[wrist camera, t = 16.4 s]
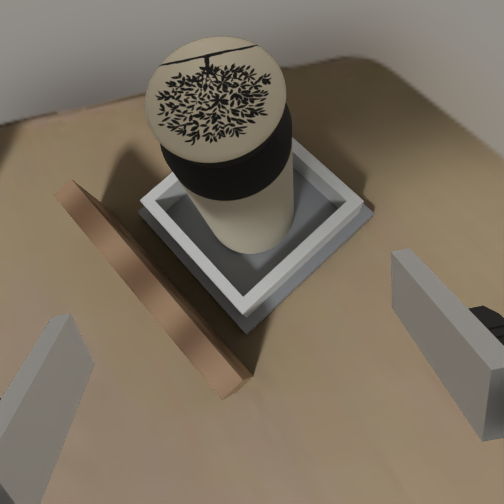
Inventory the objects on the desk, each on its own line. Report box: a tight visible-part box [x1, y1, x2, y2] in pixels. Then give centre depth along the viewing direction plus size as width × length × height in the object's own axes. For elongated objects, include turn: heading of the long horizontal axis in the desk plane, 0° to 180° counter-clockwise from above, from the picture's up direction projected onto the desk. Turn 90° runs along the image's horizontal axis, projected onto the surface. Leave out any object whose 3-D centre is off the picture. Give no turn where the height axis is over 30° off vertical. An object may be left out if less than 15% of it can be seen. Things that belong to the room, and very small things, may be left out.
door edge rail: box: [53, 179, 253, 400], centre depth 35 cm, size 22×2×7 cm, turn 43°
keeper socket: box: [138, 137, 374, 334], centre depth 37 cm, size 16×16×4 cm
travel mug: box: [145, 36, 294, 254], centre depth 29 cm, size 8×8×18 cm
